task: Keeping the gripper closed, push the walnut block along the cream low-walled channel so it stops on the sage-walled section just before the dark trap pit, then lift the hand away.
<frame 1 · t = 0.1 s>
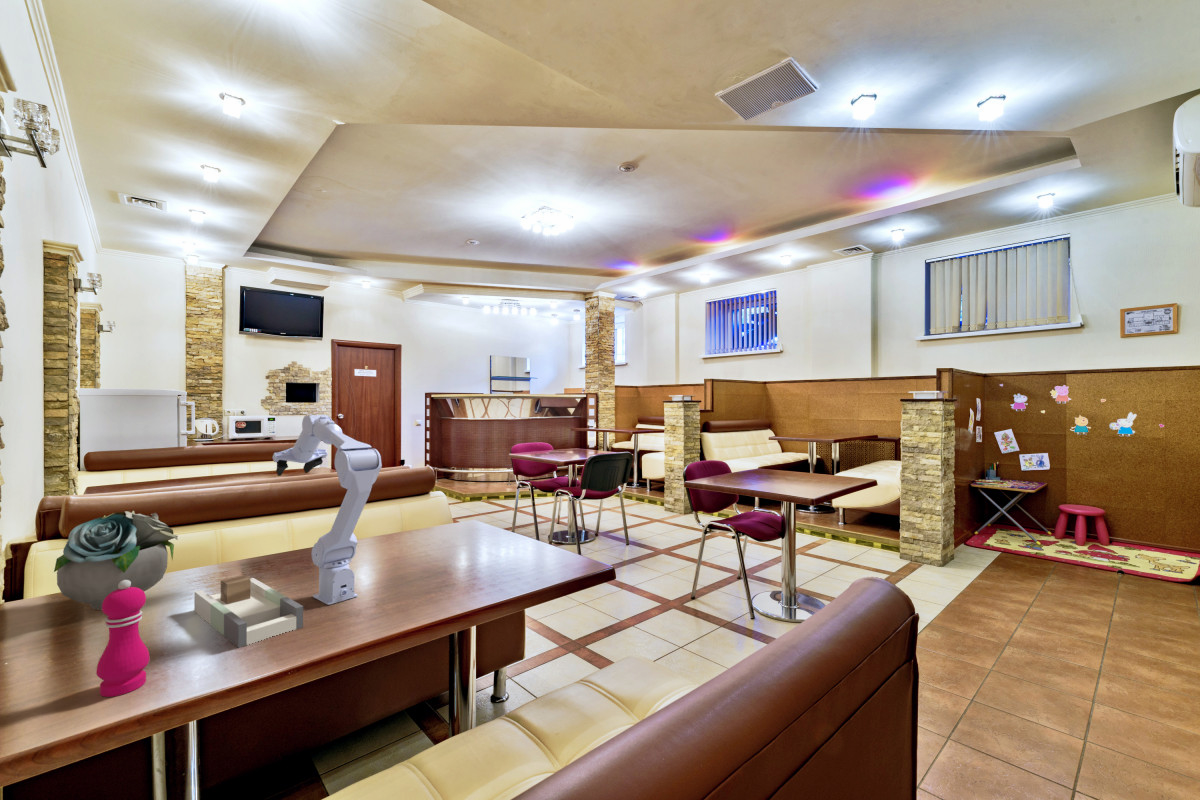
hand: (292, 471, 156), 32 cm above the table, tool tilted 50°, fingers open, 7 cm apart
flower arrangement: (115, 605, 133), on the table
walnut block: (235, 599, 129), point 3 cm above the table, touching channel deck
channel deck: (246, 618, 124), on the table
pepper mill: (123, 688, 94), on the table
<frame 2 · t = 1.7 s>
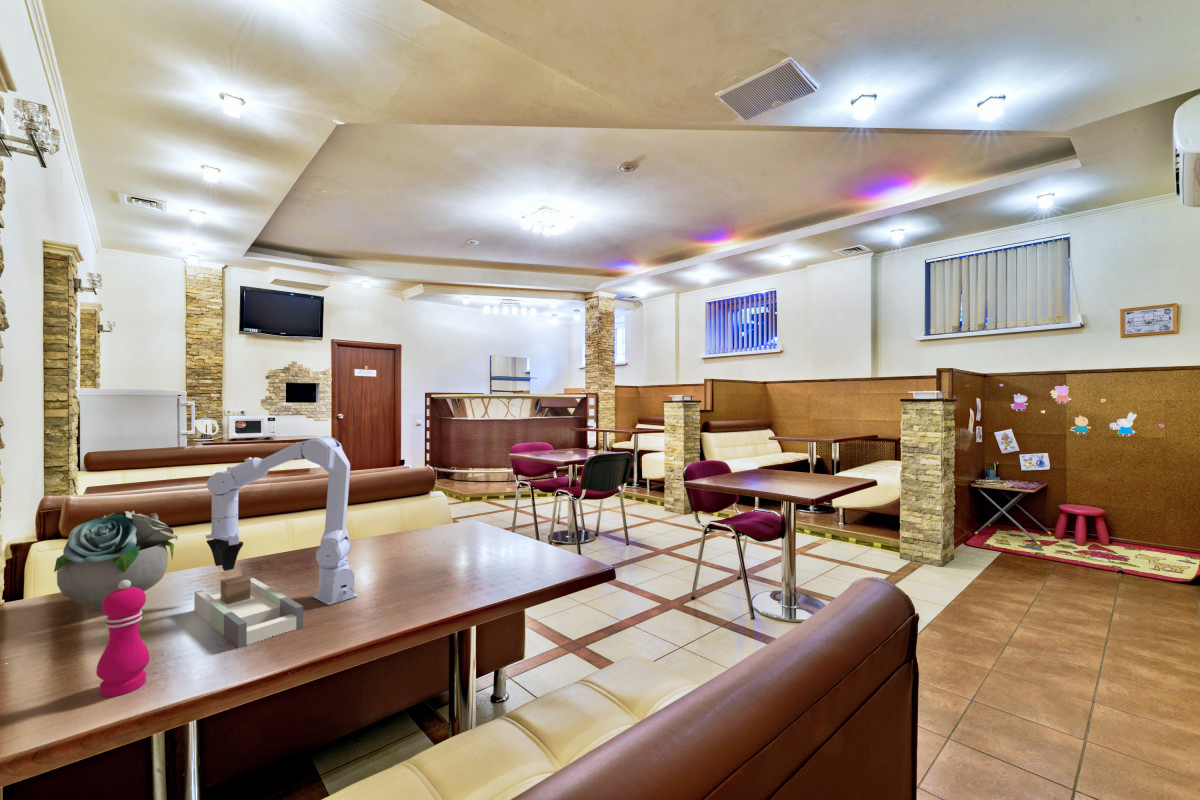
hand: (224, 567, 134), 9 cm above the table, tool pointing down, fingers open, 6 cm apart
nothing on the table moved.
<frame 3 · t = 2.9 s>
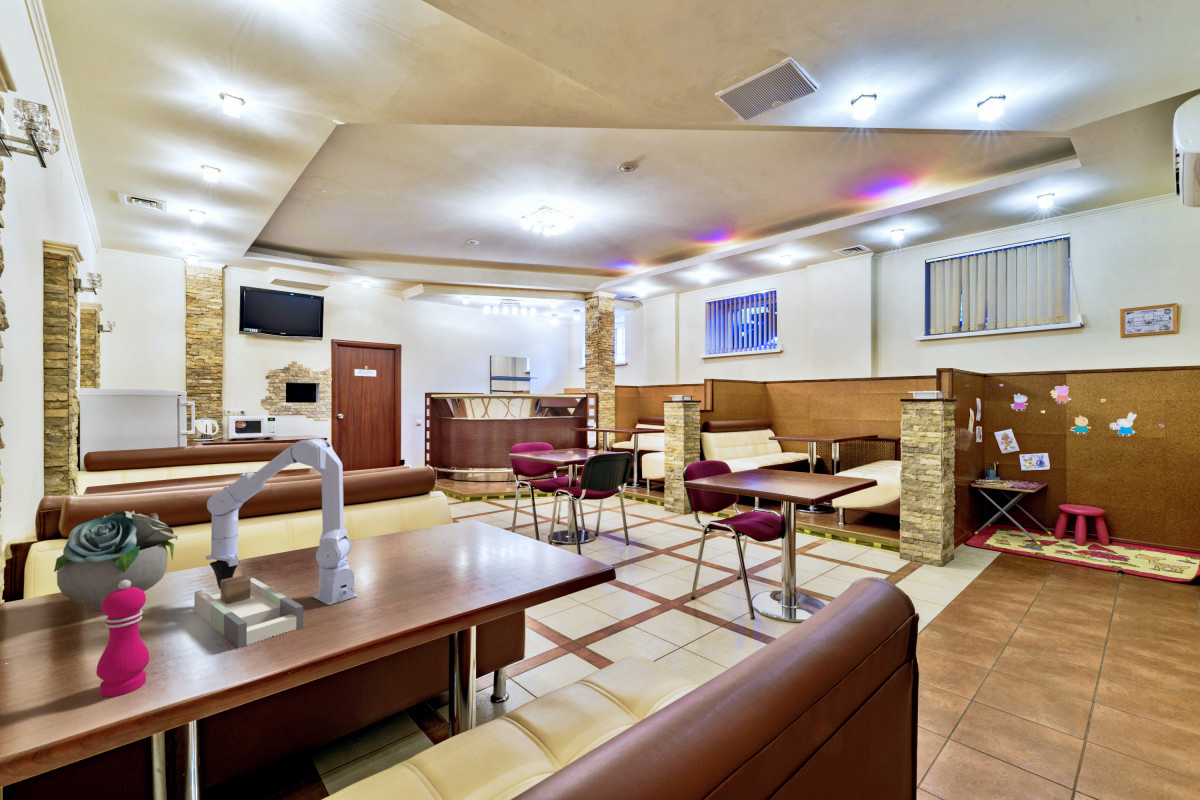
hand: (224, 587, 134), 4 cm above the table, tool pointing down, fingers closed
nothing on the table moved.
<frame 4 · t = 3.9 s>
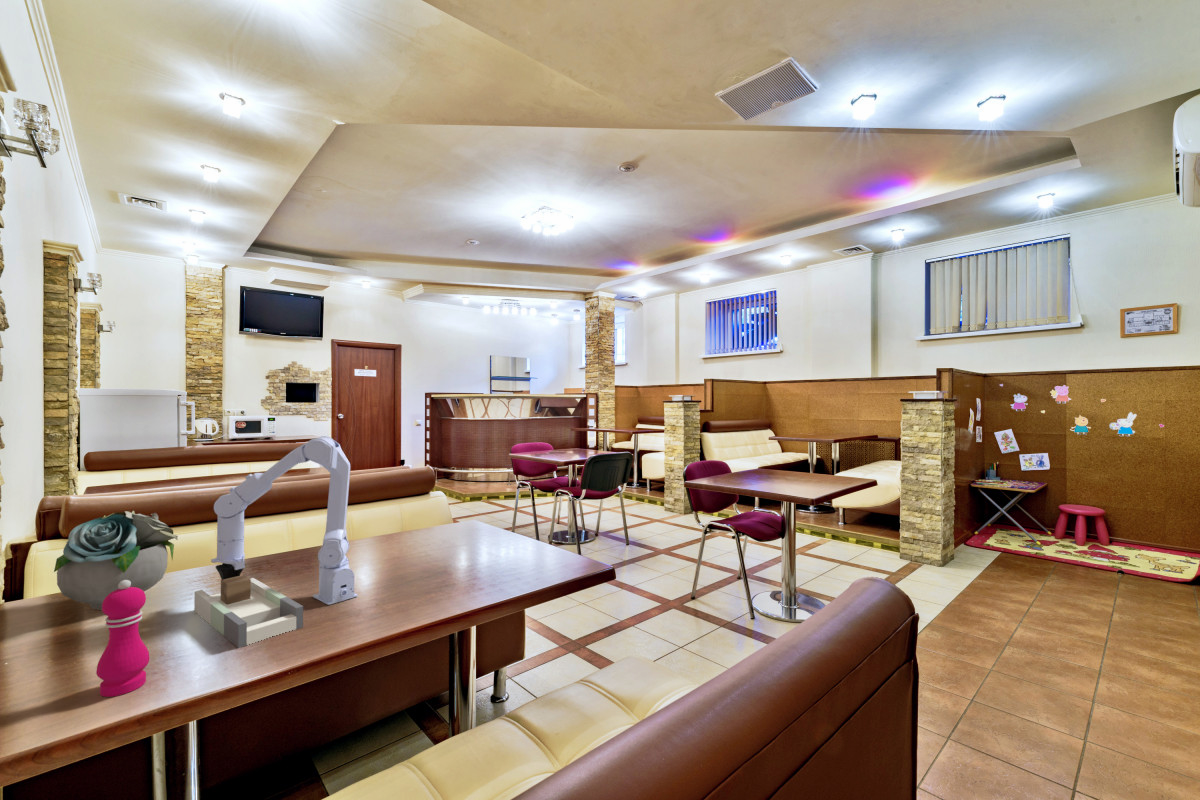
hand: (230, 591, 131), 4 cm above the table, tool pointing down, fingers closed
walnut block: (235, 599, 129), point 3 cm above the table, touching gripper
everything else where it was.
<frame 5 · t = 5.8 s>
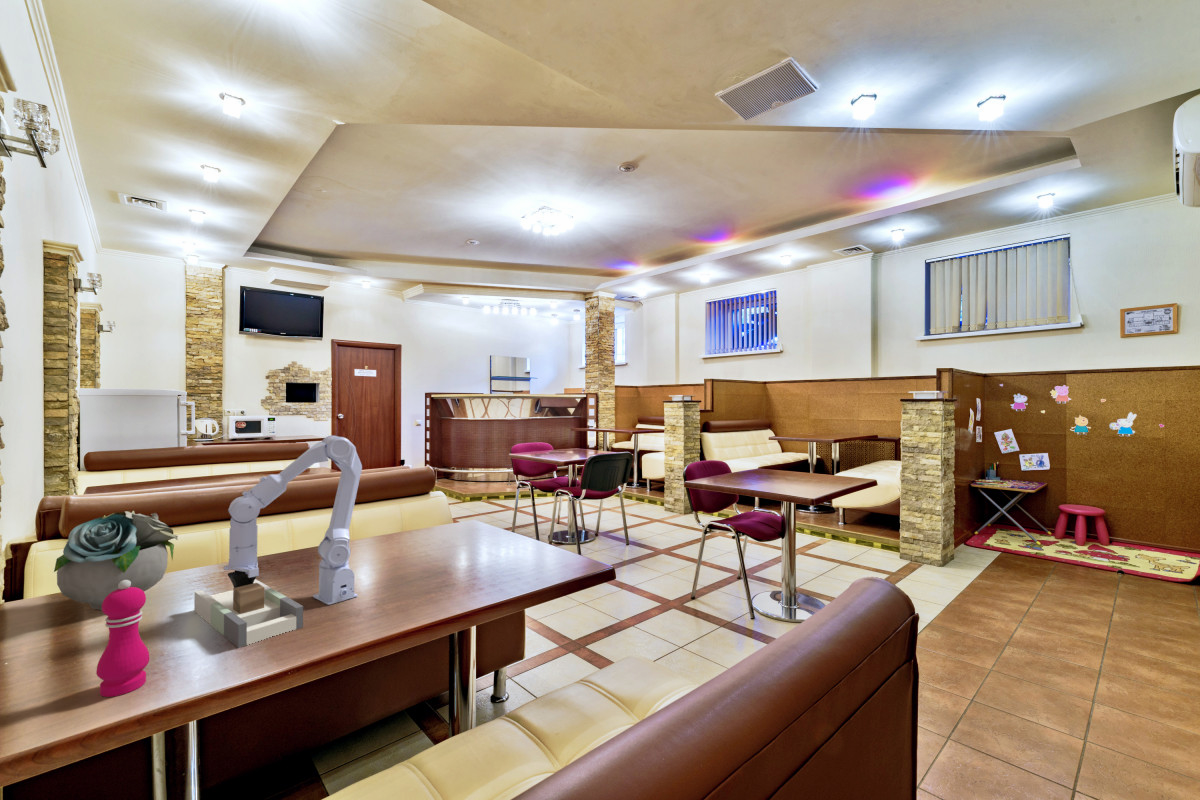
hand: (242, 600, 126), 4 cm above the table, tool pointing down, fingers closed
walnut block: (248, 608, 123), point 3 cm above the table, touching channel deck, gripper
everything else where it was.
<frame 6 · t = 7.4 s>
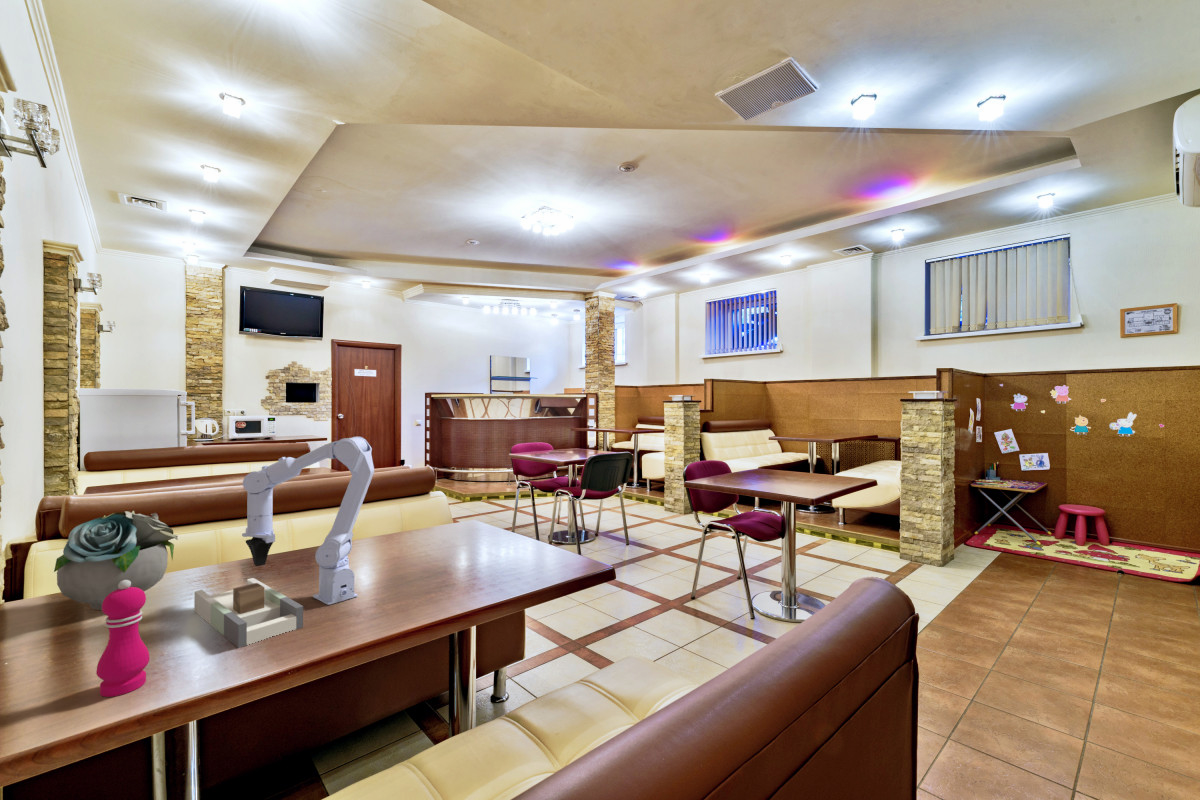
hand: (259, 565, 137), 9 cm above the table, tool pointing down, fingers closed
walnut block: (248, 608, 123), point 3 cm above the table, touching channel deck
everything else where it was.
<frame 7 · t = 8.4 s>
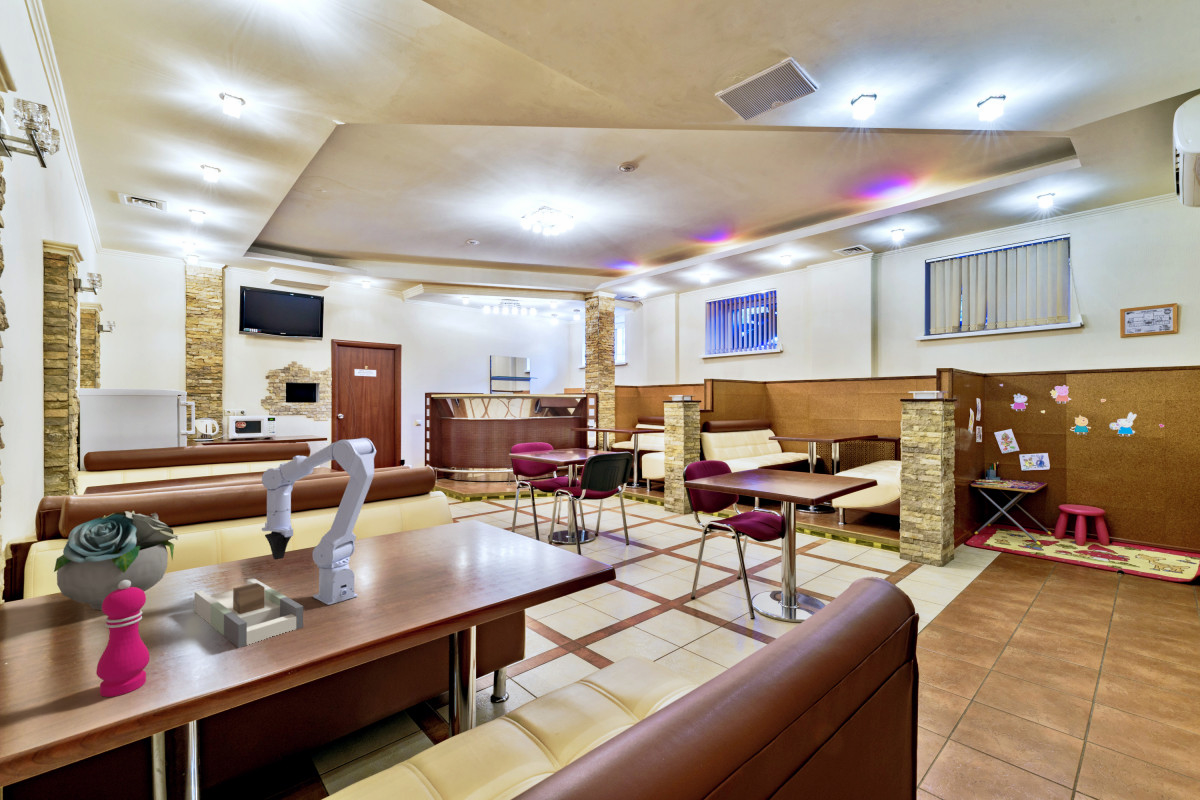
hand: (278, 558, 142), 9 cm above the table, tool pointing down, fingers closed
nothing on the table moved.
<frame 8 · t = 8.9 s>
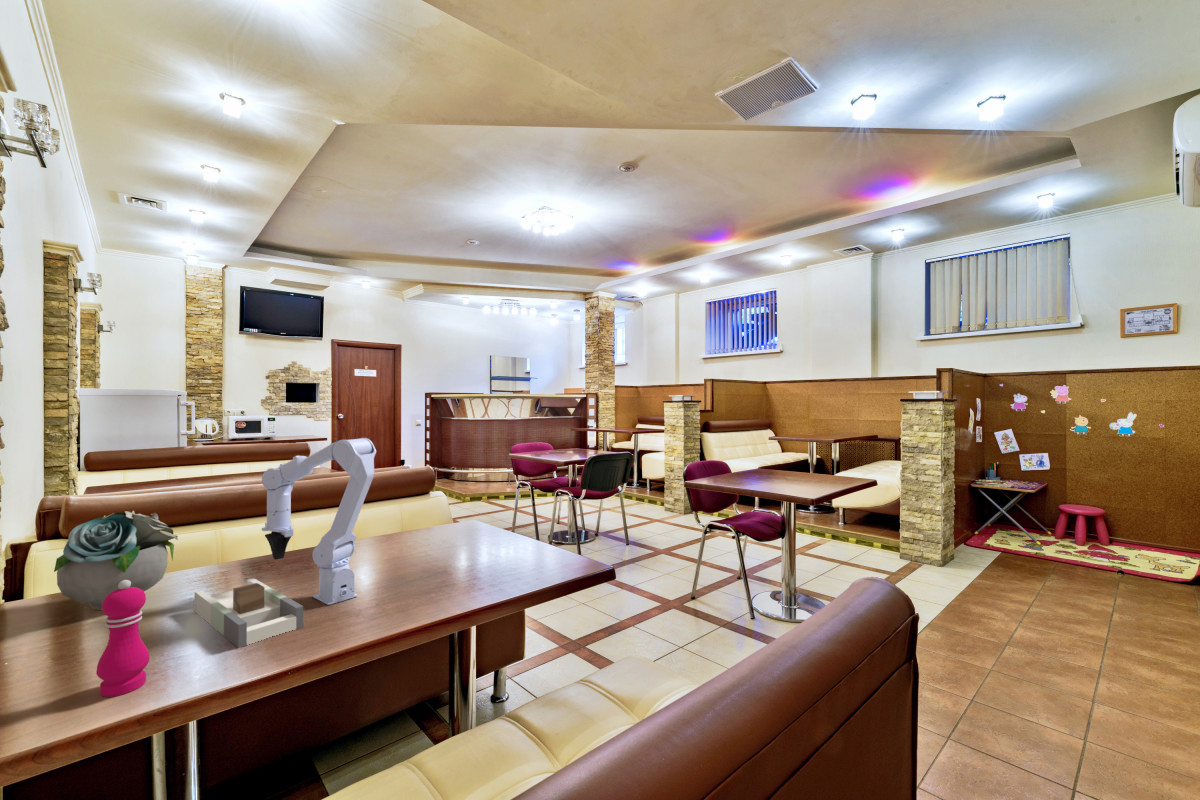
hand: (278, 558, 142), 9 cm above the table, tool pointing down, fingers closed
nothing on the table moved.
at the end: walnut block inside the target area (0.3 cm from its centre), point 3.0 cm above the table; walnut block tilted 0°; walnut block moved 9.5 cm from its start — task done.
